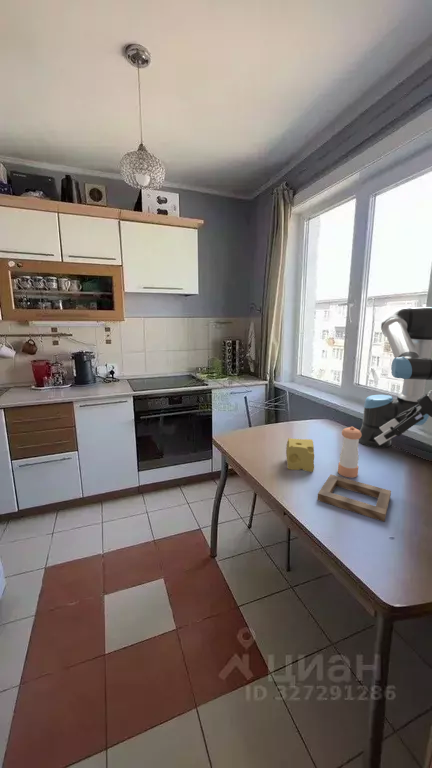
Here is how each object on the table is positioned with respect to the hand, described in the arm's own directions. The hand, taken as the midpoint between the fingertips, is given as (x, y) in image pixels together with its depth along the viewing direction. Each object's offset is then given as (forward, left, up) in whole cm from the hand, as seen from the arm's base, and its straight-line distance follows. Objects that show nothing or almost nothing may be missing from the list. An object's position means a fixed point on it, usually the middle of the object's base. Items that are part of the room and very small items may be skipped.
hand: (379, 435), depth 115 cm
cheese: (+21, -19, -18) cm, 33 cm away
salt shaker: (+6, -8, -18) cm, 20 cm away
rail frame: (+16, +8, -18) cm, 25 cm away
